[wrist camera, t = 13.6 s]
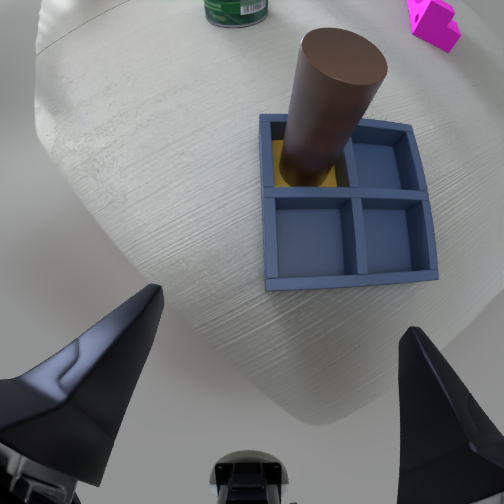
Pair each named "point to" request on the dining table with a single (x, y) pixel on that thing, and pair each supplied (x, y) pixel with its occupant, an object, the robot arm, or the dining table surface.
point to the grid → (348, 213)
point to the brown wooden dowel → (327, 101)
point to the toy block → (434, 22)
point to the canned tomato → (235, 12)
